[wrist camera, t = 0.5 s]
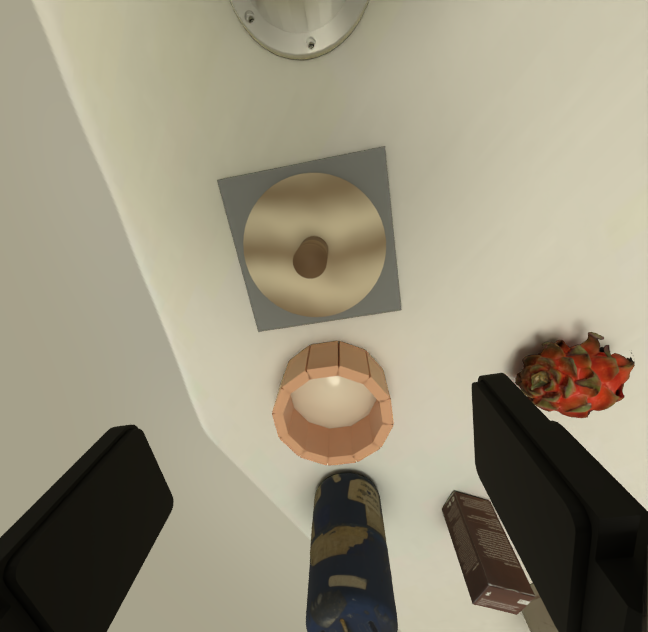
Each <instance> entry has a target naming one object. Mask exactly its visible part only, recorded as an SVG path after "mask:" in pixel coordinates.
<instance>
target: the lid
mask: <svg viewBox="0 0 648 632" xmlns="http://www.w3.org/2000/svg"><path fill="white" fill-rule="evenodd" d="M243 248H244V257H245V262H246V265H247V268H248V271H249V273H250V275H251V277H252V279H253V281H254V283H255V284H256V286H257V287H258V288H259V290H260V291H261V292H262V293H263V294H264V295H265V296H266V297H267V298H268V299H269V300H270V301H271V302H273V303H274V304H275V305H277V306H278V307H280V308H282V309H284V310H286V311H288V312H291V313H293V314H297V315H301V316H307V317H325V316H331V315H335V314H338V313H341V312H344V311H346V310H348V309H350V308H351V307H353V306H354V305H356V304H357V303H359V302H360V301H361V300H362V299H363V298H365V297H366V295H367V294H368V293H369V292H370V291H371V290H372V288H373V287H374V285H375V284H376V282H377V280H378V278H379V276H380V274H381V271H382V269H383V266H384V261H385V255H386V237H385V231H384V227H383V224H382V220H381V218H380V216H379V214H378V212H377V210H376V208H375V207H374V205H373V204H372V202H371V201H370V200H369V198H368V197H367V196H366V195H365V194H364V193H363V192H362V191H361V190H359V189H358V188H357V187H356V186H354V185H353V184H351V183H350V182H348V181H346V180H344V179H342V178H339V177H336V176H333V175H330V174H324V173H304V174H298V175H294V176H291V177H288V178H286V179H284V180H281V181H280V182H278V183H276V184H275V185H273V186H272V187H271V188H269V189H268V190H267V191H266V192H265V193H264V194H263V195H262V196H261V197H260V198H259V199H258V201H257V202H256V204H255V205H254V207H253V208H252V210H251V212H250V214H249V217H248V220H247V223H246V226H245V231H244V240H243Z"/></svg>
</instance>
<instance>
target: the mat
mask: <svg viewBox="0 0 648 632" xmlns="http://www.w3.org/2000/svg"><path fill="white" fill-rule="evenodd" d="M304 173H324V174H330V175H333V176H336V177H339V178H342V179H344V180H346V181H348V182H350V183H351V184H353V185H354V186H356V187H357V188H358V189H359V190H361V191H362V192H363V193H364V194H365V195H366V196H367V197H368V198H369V200H370V201H371V202H372V204H373V205H374V207H375V208H376V210H377V212H378V214H379V216H380V218H381V220H382V224H383V227H384V231H385V237H386V255H385V261H384V266H383V269H382V271H381V274H380V276H379V278H378V280H377V282H376V284H375V285H374V287H373V288H372V290H371V291H370V292H369V293H368V294H367V295H366V297H365V298H363V299H362V300H361V301H360V302H359V303H357V304H356V305H354V306H353V307H351V308H350V309H348V310H346V311H344V312H341V313H338V314H335V315H331V316H325V317H307V316H301V315H297V314H293V313H291V312H288V311H286V310H284V309H282V308H280V307H278V306H277V305H275V304H274V303H273V302H271V301H270V300H269V299H268V298H267V297H266V296H265V295H264V294H263V293H262V292H261V291H260V290H259V288H258V287H257V286H256V284H255V283H254V281H253V279H252V277H251V275H250V273H249V271H248V268H247V265H246V262H245V257H244V248H243V240H244V231H245V226H246V223H247V220H248V217H249V214H250V212H251V210H252V208H253V207H254V205H255V204H256V202H257V201H258V199H259V198H260V197H261V196H262V195H263V194H264V193H265V192H266V191H267V190H268V189H269V188H271V187H272V186H273V185H275V184H276V183H278V182H280V181H281V180H284V179H286V178H288V177H291V176H294V175H298V174H304ZM217 182H218V185H219V189H220V193H221V196H222V200H223V204H224V207H225V211H226V215H227V218H228V222H229V226H230V229H231V233H232V237H233V240H234V244H235V248H236V251H237V255H238V259H239V263H240V266H241V270H242V274H243V277H244V281H245V285H246V288H247V292H248V296H249V299H250V303H251V307H252V310H253V314H254V318H255V321H256V325H257V329H258V332H261V331H267V330H274V329H280V328H287V327H294V326H300V325H307V324H313V323H320V322H327V321H333V320H340V319H346V318H353V317H360V316H366V315H373V314H379V313H386V312H393V311H399V310H401V300H400V290H399V280H398V270H397V261H396V251H395V241H394V231H393V221H392V211H391V201H390V191H389V181H388V171H387V161H386V151H385V146H384V147H379V148H374V149H369V150H364V151H359V152H354V153H349V154H344V155H339V156H334V157H329V158H324V159H319V160H314V161H309V162H305V163H300V164H295V165H290V166H285V167H280V168H275V169H270V170H265V171H260V172H255V173H250V174H245V175H240V176H235V177H230V178H226V179H221V180H217Z"/></svg>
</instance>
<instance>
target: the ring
mask: <svg viewBox="0 0 648 632" xmlns="http://www.w3.org/2000/svg"><path fill="white" fill-rule="evenodd" d="M272 412H273V413H272V415H273V419H274V422H275V426H276V429H277V433H278V437H280V440H281V441H283V442H284V443H285V444H286V445H287V446H288V447H289V448H290V449H291V450H292V451H293V452H294V453H296V454H297V455H298V456H300V457H301V458H304V459H307V460H311V461H314V462H317V463H320V464H324V465H327V463H328V466H329V465H338V464H348V463H356V461H357V462H359V461H360V460H362V459H364V458H365V457H367V456H369V455H370V454H372V453H374V452H375V451H377V450H379V449H380V447H382V445H383V444H384V442H385V440H386V438H387V436H388V434H389V433H390V431H391V429H392V427H393V424H394V422H393V414H392V406H391V399H390V395H389V391H388V387H387V383H386V379H385V375H384V372H383V369H382V368H381V367H380V366H379V364H378V363H377V362H376V361H375V360H374V359H373V358H372V356H371V355H370V354H369V353H368V352H367V351H365V350H364V349H361V348H359V347H356V346H353V345H350V344H347V343H344V342H341V341H339V344H338V341H333V342H326V343H319V344H312V345H311V346H310V345H309V346H308V347H307V348H305V349H304V350H303V351H301V352H300V353H299V354H297V355H296V356H295V357H293V358H292V359H291V360H290V361H289V362H288V365H287V368H286V370H285V373H284V376H283V379H282V381H281V384H280V388H279V391H278V394H277V398H276V401H275V404H274V408H273V411H272Z"/></svg>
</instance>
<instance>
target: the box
mask: <svg viewBox="0 0 648 632" xmlns="http://www.w3.org/2000/svg"><path fill="white" fill-rule="evenodd" d="M442 511H443V514H444V517H445V520H446V524H447V527H448V530H449V533H450V536H451V539H452V542H453V545H454V548H455V551H456V554H457V557H458V560H459V563H460V566H461V570H462V573H463V576H464V579H465V582H466V585H467V588H468V591H469V594H470V597H471V600H472V604H474V605H479V606H483V607H488V608H492V609H496V610H500V611H504V612H508V613H512V614H516V615H517V614H518V613H519V612H520V611H522V610H523V609H524V608H525V607H526V606H527V605H528V604H529V603H530V602H531V601H532V600H533V599H534V598H535V594H534V592H533V590H532V588H531V586H530V584H529V582H528V580H527V577H526V575H525V573H524V571H523V569H522V567H521V565H520V563H519V561H518V559H517V557H516V555H515V552H514V550H513V548H512V546H511V544H510V542H509V540H508V538H507V536H506V534H505V532H504V530H503V528H502V526H501V524H500V521H499V519H498V517H497V515H496V513H495V511H494V509H493V507H492V505H491V503H490V501H488V500H484V499H480V498H476V497H473V496H469V495H466V494H462V493H458V492H455V491H454V492H453V493H452V494H451V496H450V497H449V498H448V500H447V502H446V503H445V505H444V507H443V509H442Z"/></svg>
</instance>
